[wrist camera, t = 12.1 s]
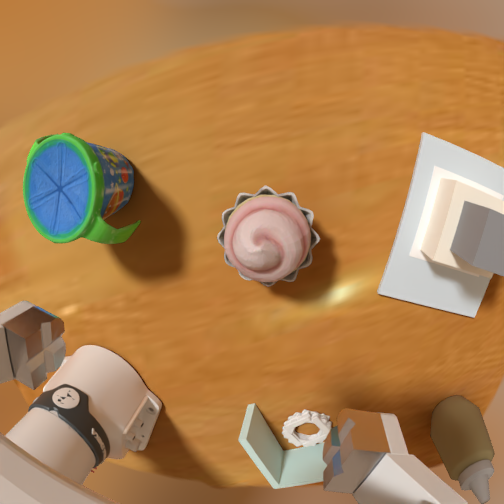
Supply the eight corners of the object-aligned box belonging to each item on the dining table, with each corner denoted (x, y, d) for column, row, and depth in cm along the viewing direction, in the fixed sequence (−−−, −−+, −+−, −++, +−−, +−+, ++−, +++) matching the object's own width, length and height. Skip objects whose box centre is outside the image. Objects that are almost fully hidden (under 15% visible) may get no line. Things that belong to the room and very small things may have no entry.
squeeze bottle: (418, 430, 39) (443, 524, 21) (432, 391, 36) (471, 490, 19) (462, 424, 37) (495, 509, 20) (479, 385, 35) (526, 472, 18)
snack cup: (56, 166, 36) (1, 173, 27) (103, 106, 33) (47, 96, 24) (122, 256, 38) (73, 285, 28) (179, 200, 35) (134, 215, 25)
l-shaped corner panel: (353, 435, 41) (357, 473, 34) (279, 452, 44) (274, 488, 37) (332, 380, 39) (335, 420, 32) (248, 402, 42) (238, 440, 35)
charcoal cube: (486, 262, 27) (510, 278, 22) (449, 249, 27) (472, 265, 22) (500, 215, 25) (527, 225, 20) (464, 200, 26) (489, 208, 21)
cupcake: (333, 211, 33) (345, 231, 23) (289, 284, 36) (282, 328, 26) (254, 166, 33) (233, 167, 23) (214, 242, 36) (182, 272, 26)
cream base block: (475, 267, 31) (491, 278, 27) (420, 249, 31) (433, 260, 28) (495, 201, 28) (514, 206, 25) (440, 177, 29) (456, 180, 25)
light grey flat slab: (472, 315, 33) (474, 317, 32) (377, 291, 34) (378, 294, 33) (517, 176, 28) (520, 177, 27) (422, 132, 29) (424, 132, 28)
